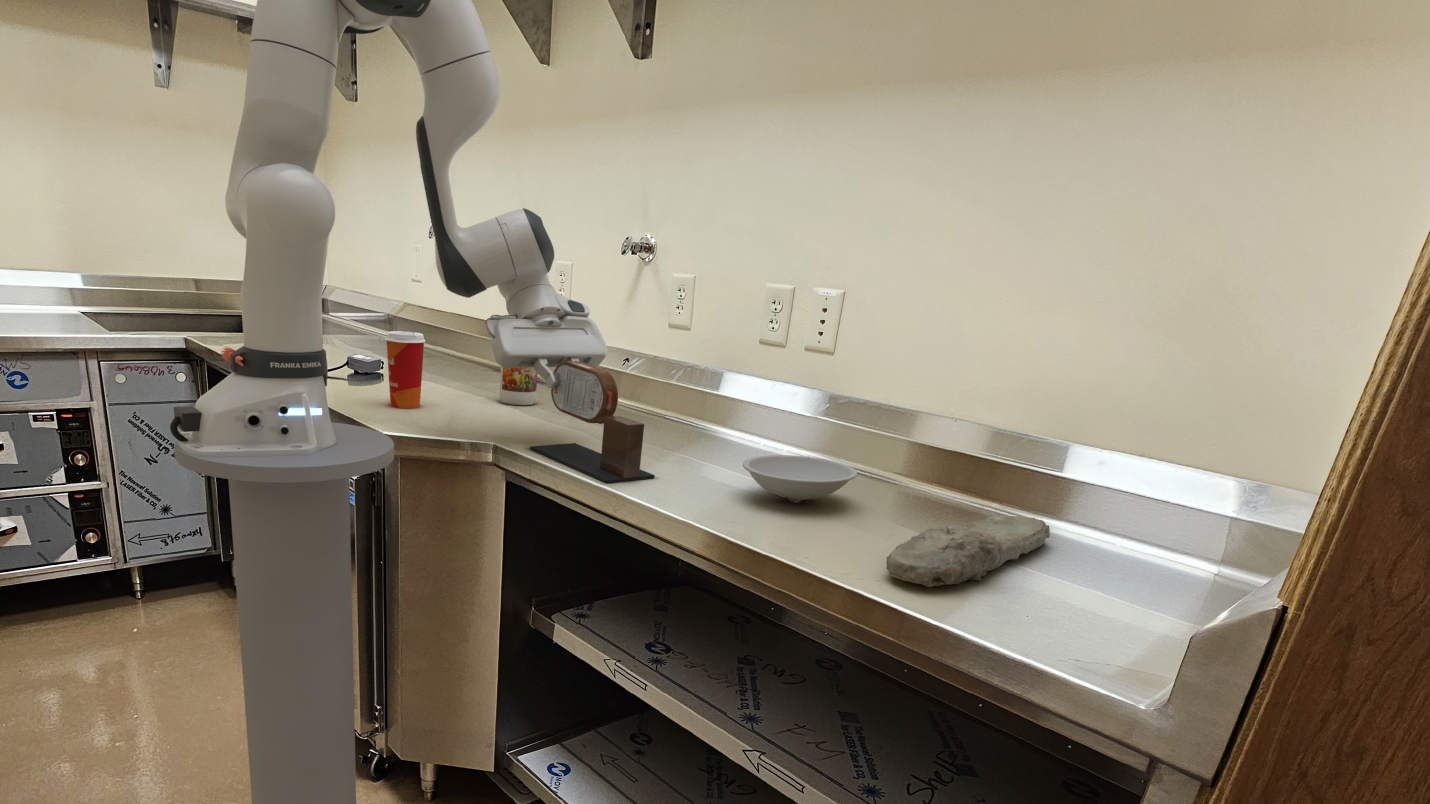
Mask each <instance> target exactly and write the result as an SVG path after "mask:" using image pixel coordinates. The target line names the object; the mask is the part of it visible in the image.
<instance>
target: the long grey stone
mask: <svg viewBox="0 0 1430 804" xmlns="http://www.w3.org/2000/svg"><path fill="white" fill-rule="evenodd" d="M1050 532H1051V528H1050V525H1049V524H1046V522H1045V521H1044V520H1043V519H1038V518H1036V517H1027V516H1021V515H1002V514H1001V515H993V516H990V517H988V518H984V519H979V520H975V521H971V522H967V523H964V524H962V525H950V526H949V525H947V526H946V528H941V527H940V528H927V529H925V530H924V531H922V532H920V533H919V534H917V535H914V536H911V537H910V539H909V540H907V541H904V542H903V543H900V544H898V545H896V547H895V548H894V549H893V550H892V552H891V553H889V555H888V556H886V562H885V563H886V570H887V571H888V574H889V576H891V577H893V578H896V579H899V580H901V581H904V582H909V583H913V584H920V585H923V586H925V587H927V588H932V587H936V586H945V585H946V586H947V585H949V586H950V585H954V584H955V585H960V584H961V583H964V582H967V581H971V582H972V581H973V582H975V581H976V582H980V581H982V578H981V577H983V576H987V572H989V571H993V570H994V569H997V568H999V567H1001V565H1004V563H1005V562H1006V561H1008V560H1009V561H1010V560H1017V559H1019V557H1020V555H1022V554H1025V555H1026V554H1028V553H1029V552H1032V551H1035V550H1037V549H1038V548H1040V547H1041V546H1043V545H1044V544H1045V542H1046V539H1049V538H1050V536H1051V533H1050Z"/></svg>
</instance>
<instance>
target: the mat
mask: <svg viewBox="0 0 1430 804" xmlns="http://www.w3.org/2000/svg"><path fill="white" fill-rule="evenodd" d="M529 450H530V451H533V452H536V453H538V454H540V455H542V456H544V457H547V458H549V459H551V460H553V461H556V462H557V463H560V464H563V465H565V466H567V467H569V468H572V469H573V470H576V471H579V472H580V473H582V474H584V475H587V476H590V477H592V478H594V479H596V480H598V481H600V482H602V483H605V484H613V483H621V482H623V483H624V482H630V481H641V480H642V481H643V480H650V479H655V474H653V473H651V472H648V471H645V470H643V469H641V468H640V472H639V477H631V478H622V477H619V476H617V475H615V474H612V473H610V472H607V471H605V470H603V469H600V464H601V452H599V451H596V450H593V449H591V448H588V447H586V446H583V445H581V444H579V443H576V442H570V443H569V442H568V443H556V444H543V445H540V444H539V445H530V446H529Z"/></svg>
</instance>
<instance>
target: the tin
mask: <svg viewBox="0 0 1430 804" xmlns="http://www.w3.org/2000/svg"><path fill="white" fill-rule="evenodd" d="M553 373H558V376H559V379H560V385H558V387H557V388H550V389H551V390H550V393H551V394H550V395H551V400H552V402H553V404H554V406H555V408H556V409H557V410H558V411H559V412H561V413H563V414H566V415H567V416H571V417H572V418H575V419H578V420H581V421H583V422H585V423H588V424H599V425H604V417H609V416H615V413H616V410H617V408H618V403H619V402H618V401H619V389H618V385H617V381H616V380H615V378H614V376H613V374H612V373H611V372H610V371H608V370H606V369H603V368H600V367H598V366H591V365H588V364H586V363H583V362H580V361H574V362H572V361H566V362H562V363H560V364H559V365H558V366H557V367H555V369H554V370H553Z"/></svg>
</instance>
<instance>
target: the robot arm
mask: <svg viewBox="0 0 1430 804" xmlns="http://www.w3.org/2000/svg"><path fill="white" fill-rule="evenodd" d="M254 9H255V10H254V14H253V19H252V25H251V26H252V27H251V32H250V33H251V35H250V41H249V51H248V52H249V54H248V60H247V73H246V80H245V81H246V82H245V92H244V102H243V108H242V113H241V119H240V123H239V128H238V131H237V135H236V141H235V145H234V150H233V155H232V160H231V165H230V171H229V177H228V183H227V184H228V185H227V188H226V191H225V196H224V207H225V211H226V213H227V217H228V220H229V222H230V223H231V224H232V226H233V227H234V229H235V230H236V231H237V233H239V235H241V236H242V237H243V238H244V239H246V240H245V242H246V243H245V258H244V269H243V279H242V284H241V287H240V304H241V320H242V321H241V322H242V336H243V345H242V346H240V347H239V348H237V349H233V348H232V347H229V346H226V347H224V348H222V350H220V351H221V353H220V356H221V358H222V359H223V360H224V361H226V362H227V363H229V364H230V371H231V373H230V374H228V376H226V377H224V379H222V380H221V381H220V382H218V383H217V384H216V385H215V386H213V387H211V389H209V390H207V391H206V392H205V393H203V394H202V395H201V396H200V397H199V398H198V399H197V400H196V402H195V404H194V406H192V405H186V406H185V405H183V406H173V416H174V417H173V419H172V420H171V422H170V425H169V428H170V433H171V434H172V436H173V437H174V438H175V440H176V439H177V445H178V446H179V448H180V449H181V450H183V451H184V452H186V453H189V454H191V455H195V456H199V457H250V456H297V455H312V454H314V453H316V452H317V451H318V450H321V449H324V448H327V447H330V446H332V445H334V444H335V443H336V442H337V439H336V437H335V434H334V430H333V427H332V423H331V422H332V419H331V415H330V409H329V404H328V397H327V389H326V387H327V386H328V377H329V375H328V374H329V372H328V370H329V369H328V367H329V366H328V359H327V351H326V349H325V348H324V339H323V286H324V278H325V272H326V267H327V266H326V265H327V257H328V252H329V251H328V249H329V241H330V234H331V232H332V229H333V227H334V224H335V220H336V206H335V201H334V199H333V195H332V193H331V192H330V190H329V189H328V187H327V185H326V184H325V183H324V182H323V181H322V180H321V179H320V178H319V177H318V176H316V175H315V172H316V167H317V164H318V160H319V157H320V155H321V151H322V148H323V145H324V143H325V140H326V138H327V137H328V135H329V131H330V128H331V127H330V125H331V118H332V117H331V116H332V110H333V109H332V108H333V103H334V93H335V86H336V76H337V68H338V60H339V59H338V57H339V47H340V44H341V41H342V36H343V34H355V35H367V34H373V33H376V32H378V31H381V30H382V29H383V28H384V27H386V26H392V28H393V29H394V30H396V31H397V32H398V33H399V34H400V35H401V36H402V38H403V39H404V40H405V42H406V44H407V45H408V48H409V49H410V51H411V52H412V55H413V58H414V62H415V64H416V69H417V72H418V74H419V76H420V80H421V81H420V82H421V83H422V89H423V96H424V106H423V113H422V115H421V116H420V118H419V119H418V120H417V122H416V125H415V139H416V145H417V146H416V147H417V153H418V157H419V164H420V165H419V166H420V172H421V177H422V182H423V187H424V192H425V197H426V198H425V199H426V203H427V209H428V213H429V219H430V224H431V226H432V231H433V236H434V256H435V257H434V259H435V265H436V269H437V273H438V276H439V279H440V280H441V282H442V284H443V285H444V287H445V288H446V290H447V291H448V292H451V293H453V294H455V295H456V296H460V297H463V298H467V299H470V298H472V297H474V296H476V295H479V294H480V293H483V292H485V291H487V289H490V288H493V287H496V286H497V289H498V291H499V293H500V295H501V296H502V297H503V299H504V300H505V308H506V311H507V314H505V315H504V314H503V315H499V314H492V315H491V316H490V317H488V318H487V319H486V320H485V323H484V324H485V328H486V331H487V334H488V335H489V336H490V344H491V347H492V352H493V357H494V359H495V362H496V364H497V365H498V366H500V368H501V367H502V368H535V371H536V372H537V375H539V376H540V377H541V378H542V379H543V380H545V383H546V386H547V387H548V388H549V389H551V388H557V387H558V385H560V379H559V376H558V373H554V371H553V370H551V369H550V368H556V367H557V366H558V365H559V364H560V363H562V362H566V361H572V362H574V361H580V362H583V363H586V364H588V365H591V366H594V367H598V366H600V365H601V363H603V361H604V360H605V359H606V357H607V354H608V346H607V343H606V341H605V339H604V337H603V335H602V333H601V330H600V328H599V327H598V325H597V323H596V322H595V321H594V320H593V319H592V318H590V317H589V316H590V314H591V311H590V308H589V306H588V305H587V304H585V303H583V302H580V301H577V300H574V299H571V298H568V297H566V296H564V295H562V294H559V293H557V290H556V289H555V288H554V286H553V285H552V284H551V283H550V279H549V273H550V271H551V269H552V266H553V264H554V260H555V249H554V245H553V243H552V241H551V238H550V236H549V234H548V232H547V230H546V227H545V225H544V222H543V219H542V217H541V216H540V215H538V214H536V212H533V211H532V210H529V209H527V208H524V207H523V208H518V209H515V210H512V211H509V212H506V213H503V214H500V215H497V216H495V217H493V218H491V219H487V220H485V221H481V222H479V223H476V224H473V225H470V226H467V227H461V226H459V224H458V221H457V216H456V215H457V214H456V209H455V203H454V199H453V193H452V188H451V183H450V174H449V173H450V170H449V169H450V166H451V163H452V160H453V158H454V157H455V155H456V154H457V152H458V151H459V150H460V149H461V148H462V147H463V146H464V145H465V144H466V143H467V142H468V141H469V140H471V139H472V138H473V137H474V136H475V135H476V134H477V133H478V132H479V131H481V130H482V128H484V127H485V126H486V125H487V123H488V122H489V121H490V119H492V117H493V115H494V113H495V112H496V109H497V107H498V106H499V102H500V97H501V85H500V79H499V78H500V77H499V73H498V69H497V66H496V62H495V61H496V60H495V58H494V55H493V52H492V48H491V44H490V41H489V39H488V37H487V34H486V31H485V28H484V25H483V23H482V21H481V17H480V16H479V13H478V11H477V8H476V7H475V5H474V2H473V0H256V5H255V8H254ZM179 429H180V430H181V432H180V431H179Z"/></svg>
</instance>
